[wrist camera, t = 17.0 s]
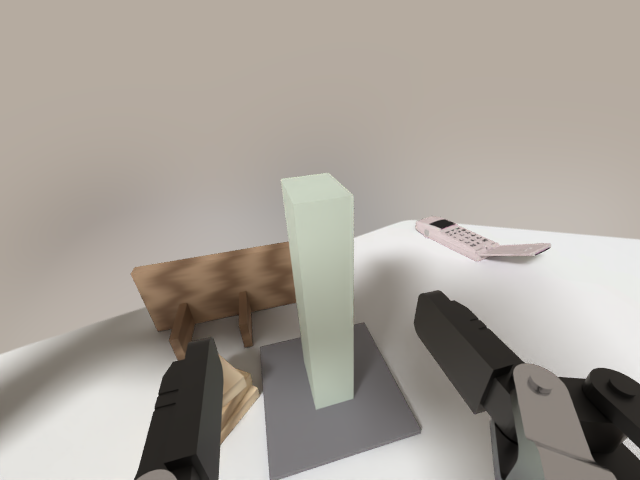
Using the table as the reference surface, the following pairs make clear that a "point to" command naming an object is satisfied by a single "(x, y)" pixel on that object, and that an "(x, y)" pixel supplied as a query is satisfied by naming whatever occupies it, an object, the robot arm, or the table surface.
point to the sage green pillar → (323, 281)
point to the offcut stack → (235, 396)
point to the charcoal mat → (329, 409)
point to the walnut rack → (215, 290)
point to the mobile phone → (472, 240)
